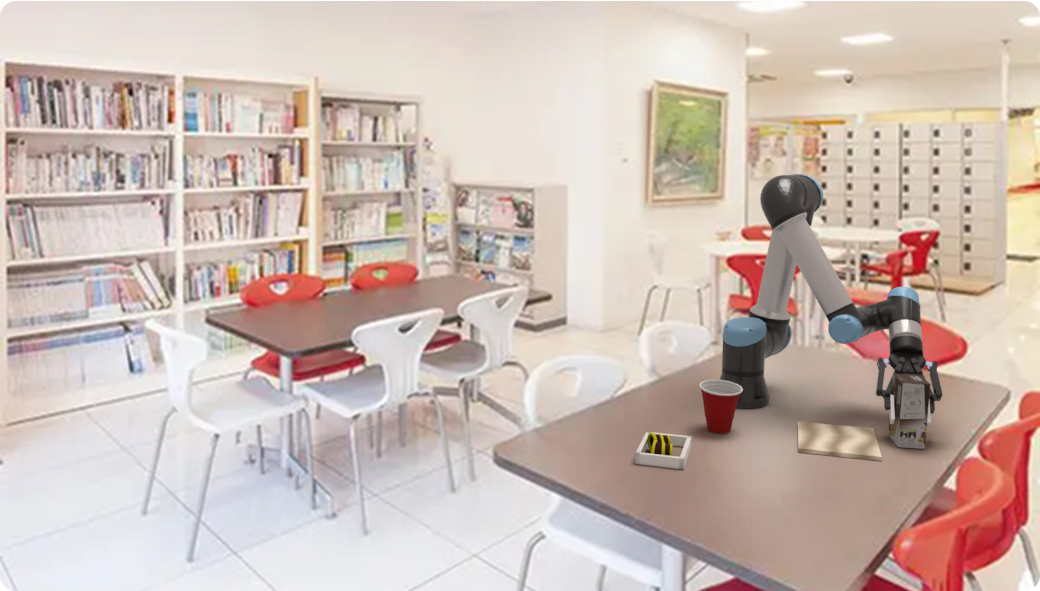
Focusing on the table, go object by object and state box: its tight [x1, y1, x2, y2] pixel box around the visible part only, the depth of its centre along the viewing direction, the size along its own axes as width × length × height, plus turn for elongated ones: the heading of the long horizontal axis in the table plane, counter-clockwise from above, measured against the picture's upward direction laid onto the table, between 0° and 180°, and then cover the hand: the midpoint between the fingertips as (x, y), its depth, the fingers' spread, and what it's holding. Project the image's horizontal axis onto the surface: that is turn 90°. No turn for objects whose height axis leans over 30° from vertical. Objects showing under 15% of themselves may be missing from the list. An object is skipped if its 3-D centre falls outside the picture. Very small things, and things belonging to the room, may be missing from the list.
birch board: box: [797, 421, 883, 462], centre depth 189 cm, size 18×20×1 cm
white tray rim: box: [634, 431, 693, 470], centre depth 182 cm, size 11×15×2 cm
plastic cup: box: [699, 379, 743, 434], centre depth 197 cm, size 11×11×12 cm
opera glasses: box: [647, 431, 674, 456], centre depth 180 cm, size 10×5×5 cm, turn 177°
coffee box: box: [887, 373, 932, 450], centre depth 187 cm, size 9×6×16 cm
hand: (910, 422), depth 184 cm, fingers closed on coffee box, 7 cm apart
